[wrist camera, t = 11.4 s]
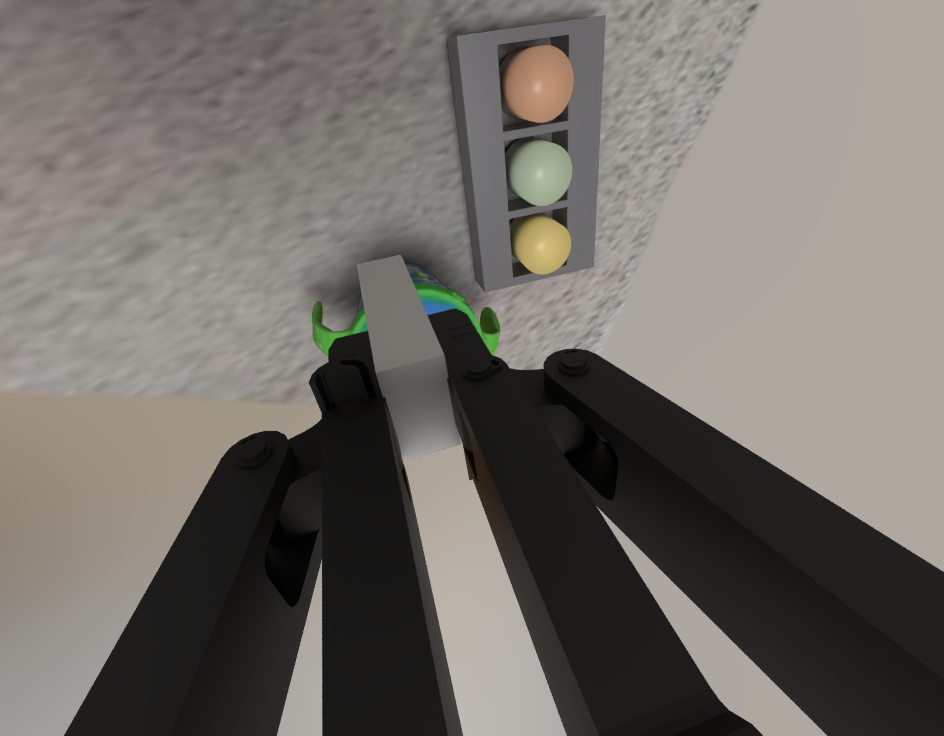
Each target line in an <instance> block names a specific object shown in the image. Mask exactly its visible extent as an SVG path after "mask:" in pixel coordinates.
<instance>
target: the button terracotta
mask: <svg viewBox="0 0 944 736" xmlns="http://www.w3.org/2000/svg"><path fill="white" fill-rule="evenodd" d="M499 79H500V93H501V108H502V109H503V110H504V111H505V112H506V113H507V114H508V115H510V116H512V117H515V118H519V119H524V120H528V121H532V122H537V123H544V122H548V121H551V120H553V119H554V118H556V117H557V116H558V115H560V114H561V113H562V111H563V110H564V109H565V107H566V106H567V104H568V102H569V100H570V98H571V95H572V91H573V84H574V76H573V70H572V66H571V63H570V61H569V59H568V57H567V56H566V55H565V54H564V53H563V52H562V51H561V50H560V49H558V48H556V47H554V46H550V45H543V46H535V47H527V48H521V49H517V50H515V51H513V52H511V53H510V54H509V55H507V56H506V57H505V59H504V60H503V61H502V63H501V65H500V66H499Z"/></svg>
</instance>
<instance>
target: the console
mask: <svg viewBox="0 0 944 736" xmlns="http://www.w3.org/2000/svg"><path fill="white" fill-rule="evenodd" d="M605 17H606V15H604V16H596V17H589V18H582V19H575V20H567V21H560V22H553V23H546V24H539V25H531V26H524V27H517V28H510V29H502V30H495V31H488V32H481V33H473V34H466V35H459V36H454V37H451V38H447V46H448V55H449V63H450V71H451V79H452V88H453V96H454V104H455V112H456V121H457V129H458V137H459V145H460V153H461V162H462V170H463V178H464V186H465V195H466V203H467V211H468V219H469V228H470V236H471V244H472V252H473V261H474V269H475V277H476V281H477V282H478V284H479V285H480V287H481V288H482V289H483V291H484V292H489V291H494V290H498V289H502V288H506V287H510V286H515V285H519V284H523V283H527V282H532V281H536V280H540V279H544V278H549V277H553V276H557V275H561V274H565V273H570V272H574V271H578V270H582V269H587V268H591V267H594V249H595V228H596V206H597V185H598V164H599V143H600V122H601V101H602V80H603V59H604V38H605ZM544 38H551V39H552V46H554V47H556V48H558V49H560V50H561V51H562V52H563V53H564V54H565V55H566V56H567V57H568V59H569V61H570V63H571V66H572V70H573V76H574V84H573V91H572V95H571V98H570V100H569V102H568V104H567V106H566V107H565V109H564V110H563V111H562V113H561V114H560V115H558V116H557V117H556V118H554V119H553V120H551V121H548V122H544V123H537V122H532V121H530V122H525V123H519V124H513V125H507V126H503V123H502V108H501V93H500V79H499V64H498V49H497V45H502V44H509V43H516V42H523V41H530V40H537V39H544ZM551 132H552V143H554V144H557V145H559V146H561V147H562V148H564V149H565V150H566V152H567V153H568V155H569V157H570V159H571V162H572V177H571V181H570V184H569V186H568V188H567V190H566V192H565V193H564V194H563V195H562V197H561V198H559V199H558V200H557V201H556V202H554V203H552V204H550V205H546V206H537V205H533V204H531V203H529V202H528V201H526V200H524V199H523V198H522V199H517V200H512V201H508V197H507V182H506V167H505V153H504V141H506V140H512V139H517V138H523V137H529V136H534V135H540V134H545V133H551ZM550 210H553V220H555V221H556V222H558V223H560V224H561V225H563V226H564V227H565V228H566V229H567V230H568V232H569V234H570V237H571V249H570V253H569V255H568V258H567V259H566V261H565V262H564V263H563V265H562V266H561V267H560V268H558V269H557V270H555V271H554V272H551V273H548V274H535V273H533V272H531V271H530V270H529V269H527V268H526V267H525V266H524V265H523V264H522V263H521V262H520V263H515V264H512V256H511V241H510V227H509V219H512V218H517V217H521V216H526V215H531V214H536V213H540V212H545V211H550Z"/></svg>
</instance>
